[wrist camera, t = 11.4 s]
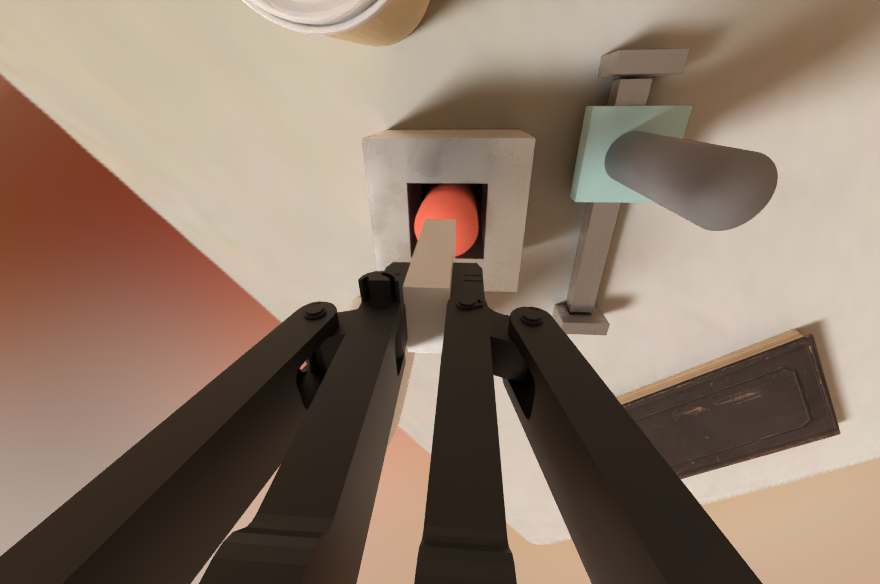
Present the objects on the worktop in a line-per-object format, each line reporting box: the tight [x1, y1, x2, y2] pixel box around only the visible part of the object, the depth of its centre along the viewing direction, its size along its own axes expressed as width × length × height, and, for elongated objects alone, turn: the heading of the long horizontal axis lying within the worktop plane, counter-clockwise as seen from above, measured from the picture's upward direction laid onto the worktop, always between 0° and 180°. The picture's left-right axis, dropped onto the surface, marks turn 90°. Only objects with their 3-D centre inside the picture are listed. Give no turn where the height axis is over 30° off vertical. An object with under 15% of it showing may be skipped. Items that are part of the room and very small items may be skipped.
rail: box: [553, 49, 690, 335], centre depth 26 cm, size 21×4×3 cm, turn 1°
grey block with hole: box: [362, 129, 536, 292], centre depth 25 cm, size 10×10×7 cm
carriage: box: [570, 105, 778, 231], centre depth 19 cm, size 6×6×13 cm
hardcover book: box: [616, 329, 840, 479], centre depth 38 cm, size 16×23×2 cm
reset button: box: [414, 183, 479, 256], centre depth 24 cm, size 4×4×6 cm
